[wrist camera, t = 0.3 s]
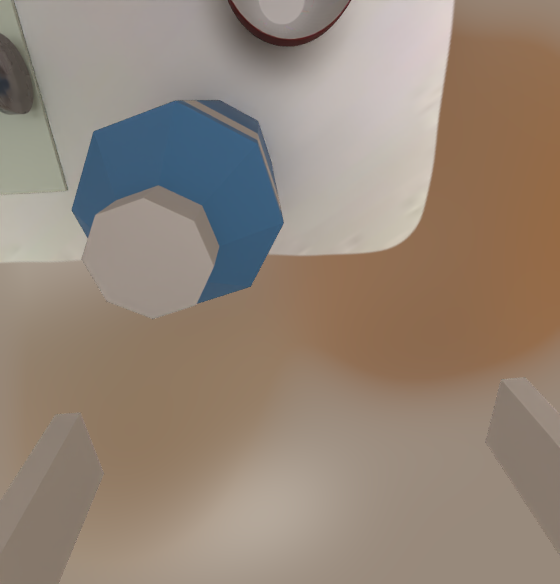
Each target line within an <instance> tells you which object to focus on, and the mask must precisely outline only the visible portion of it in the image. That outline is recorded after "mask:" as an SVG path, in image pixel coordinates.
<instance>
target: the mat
mask: <svg viewBox="0 0 560 584" xmlns="http://www.w3.org/2000/svg"><path fill="white" fill-rule="evenodd" d="M0 33H1V34H3V35H5V36H6V37H7V38H8V39H9V40H10V41H11V42H12V43H13V44H14V45H15V47H16V48H17V49H18V51H19V53H20V54H21V56H22V58H23V60H24V62H25V64H26V66H27V69H28V71H29V74H30V78H31V81H32V86H33V105H32V108H31V110H30V111H29V112H28V113H26V114H16V115H7V114H4V113H2V112H0V195H6V194H23V193H40V192H57V191H67V190H68V189H67V185H66V182H65V178H64V175H63V171H62V168H61V164H60V161H59V157H58V154H57V150H56V147H55V143H54V140H53V136H52V133H51V130H50V126H49V123H48V119H47V116H46V112H45V109H44V105H43V102H42V98H41V95H40V91H39V88H38V84H37V81H36V77H35V74H34V70H33V67H32V63H31V60H30V57H29V53H28V50H27V46H26V43H25V39H24V36H23V32H22V29H21V25H20V22H19V18H18V15H17V11H16V8H15V4H14V1H13V0H0Z"/></svg>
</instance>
